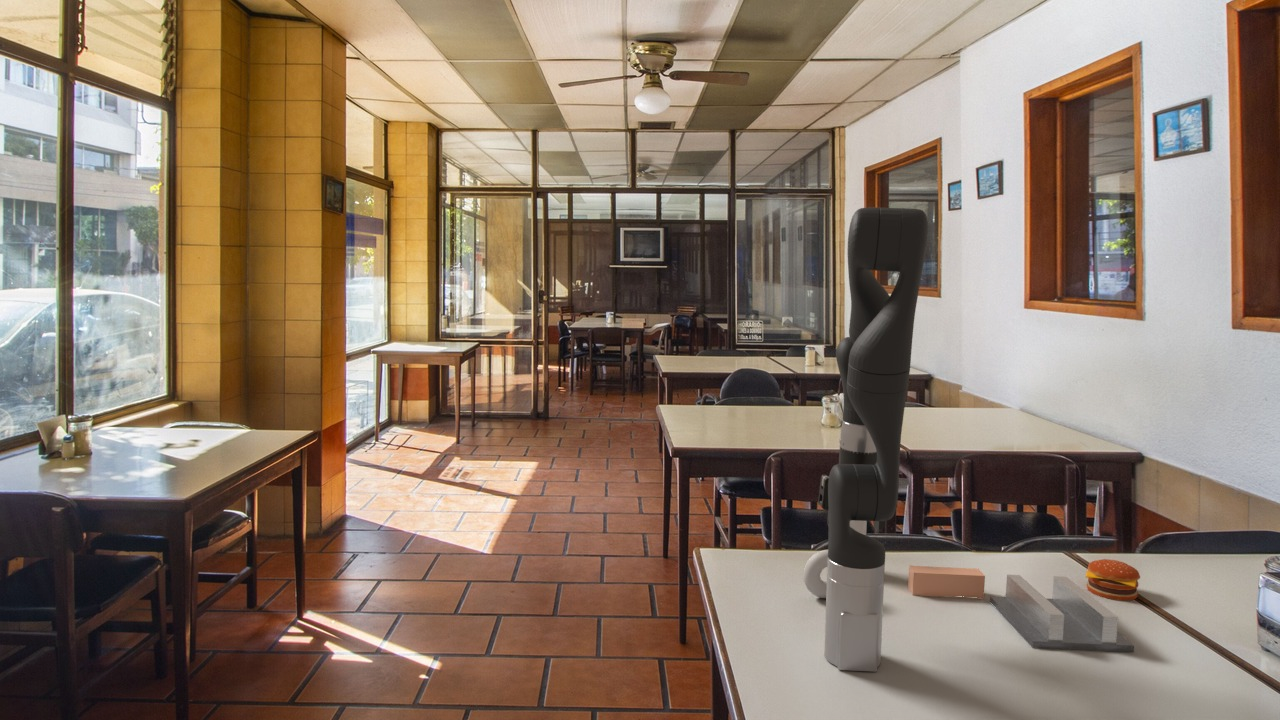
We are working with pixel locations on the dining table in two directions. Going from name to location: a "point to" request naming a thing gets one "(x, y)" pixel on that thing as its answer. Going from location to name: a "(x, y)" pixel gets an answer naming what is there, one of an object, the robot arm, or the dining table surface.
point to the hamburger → (1112, 580)
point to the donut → (816, 573)
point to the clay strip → (946, 581)
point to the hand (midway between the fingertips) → (856, 530)
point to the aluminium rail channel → (1060, 617)
